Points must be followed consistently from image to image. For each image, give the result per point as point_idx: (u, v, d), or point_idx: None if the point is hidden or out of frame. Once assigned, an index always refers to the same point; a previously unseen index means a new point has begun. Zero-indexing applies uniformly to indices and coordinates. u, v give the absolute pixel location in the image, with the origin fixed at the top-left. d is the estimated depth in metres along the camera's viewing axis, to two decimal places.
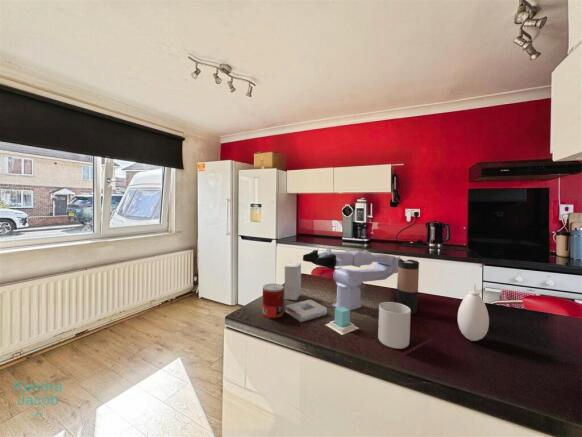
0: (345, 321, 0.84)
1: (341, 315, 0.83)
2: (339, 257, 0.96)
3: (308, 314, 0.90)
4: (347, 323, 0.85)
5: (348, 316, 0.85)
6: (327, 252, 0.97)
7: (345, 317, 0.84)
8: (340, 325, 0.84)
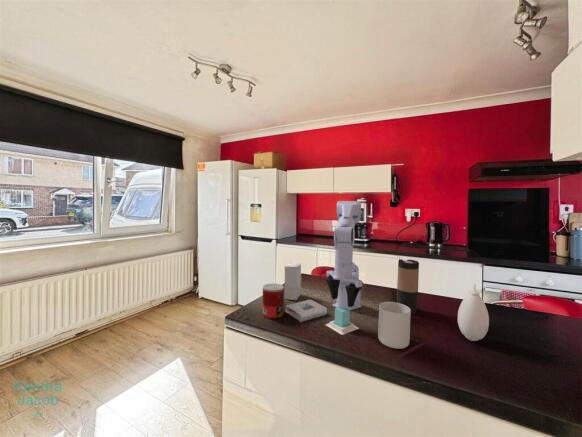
0: (345, 321, 0.84)
1: (341, 315, 0.83)
2: (346, 268, 0.82)
3: (308, 314, 0.90)
4: (347, 323, 0.85)
5: (348, 316, 0.85)
6: None
7: (345, 317, 0.84)
8: (340, 325, 0.84)
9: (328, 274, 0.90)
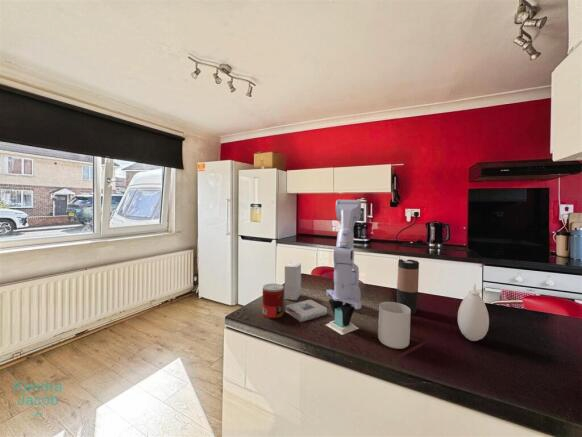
0: None
1: (341, 315, 0.83)
2: (346, 289, 0.82)
3: (308, 314, 0.90)
4: None
5: None
6: None
7: None
8: (340, 325, 0.84)
9: (328, 293, 0.90)
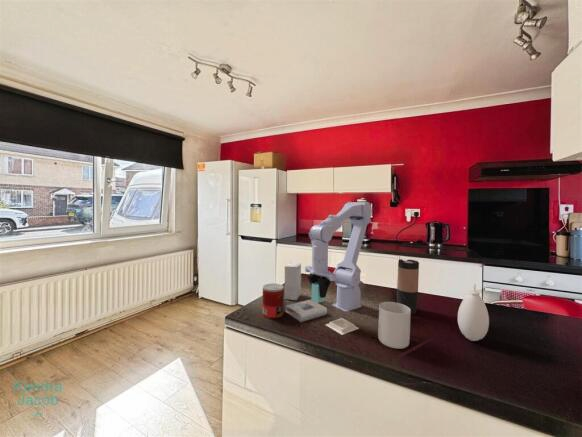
0: None
1: (317, 289, 0.89)
2: (322, 263, 0.88)
3: (308, 314, 0.90)
4: None
5: None
6: None
7: None
8: (316, 298, 0.89)
9: (306, 269, 0.96)
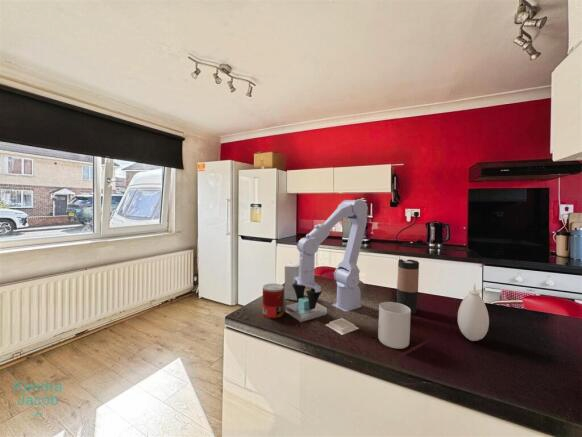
0: (307, 309, 0.94)
1: (303, 305, 0.94)
2: (308, 275, 0.92)
3: (308, 314, 0.90)
4: None
5: None
6: None
7: (307, 307, 0.94)
8: None
9: (295, 280, 1.00)
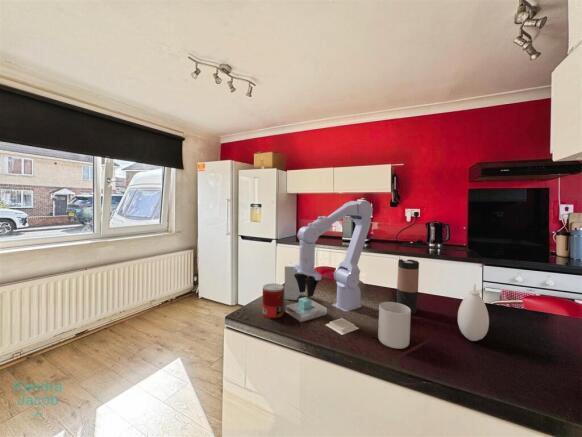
0: (307, 309, 0.94)
1: (303, 305, 0.94)
2: (308, 263, 0.92)
3: (308, 314, 0.90)
4: None
5: (310, 305, 0.95)
6: None
7: (307, 307, 0.94)
8: None
9: (295, 269, 1.00)
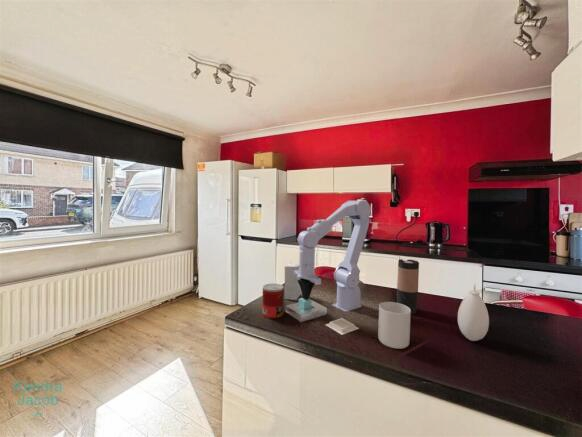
0: (307, 309, 0.94)
1: (303, 305, 0.94)
2: (308, 268, 0.92)
3: (308, 314, 0.90)
4: None
5: (310, 305, 0.95)
6: None
7: (307, 307, 0.94)
8: None
9: (295, 273, 1.00)
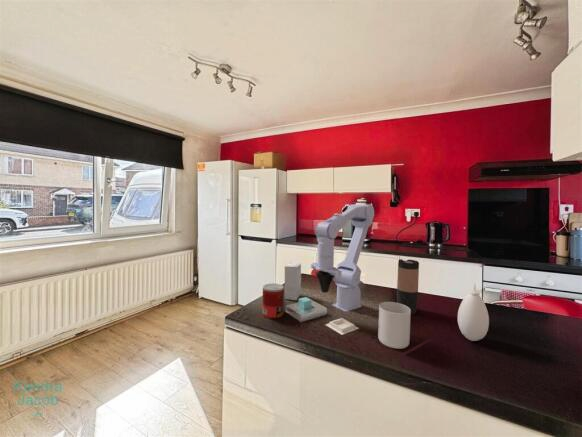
0: (307, 309, 0.94)
1: (303, 305, 0.94)
2: (328, 260, 0.89)
3: (308, 314, 0.90)
4: None
5: (310, 305, 0.95)
6: None
7: (307, 307, 0.94)
8: None
9: (312, 266, 0.97)
